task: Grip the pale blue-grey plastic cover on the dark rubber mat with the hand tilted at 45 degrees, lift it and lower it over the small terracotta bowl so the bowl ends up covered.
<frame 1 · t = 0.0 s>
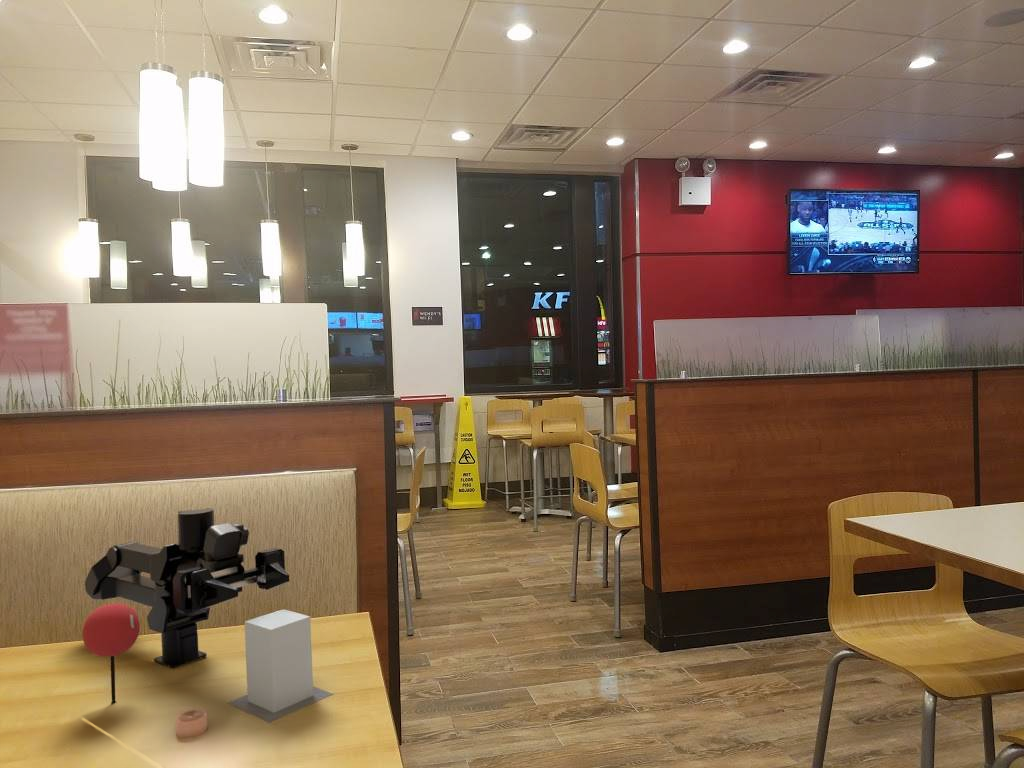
hand: (263, 585, 113), 17 cm above the table, tool horizontal, fingers open, 9 cm apart
lollipop: (114, 703, 111), on the table
cover: (280, 698, 110), resting on mat
bowl: (192, 734, 100), on the table
mat: (280, 701, 110), on the table
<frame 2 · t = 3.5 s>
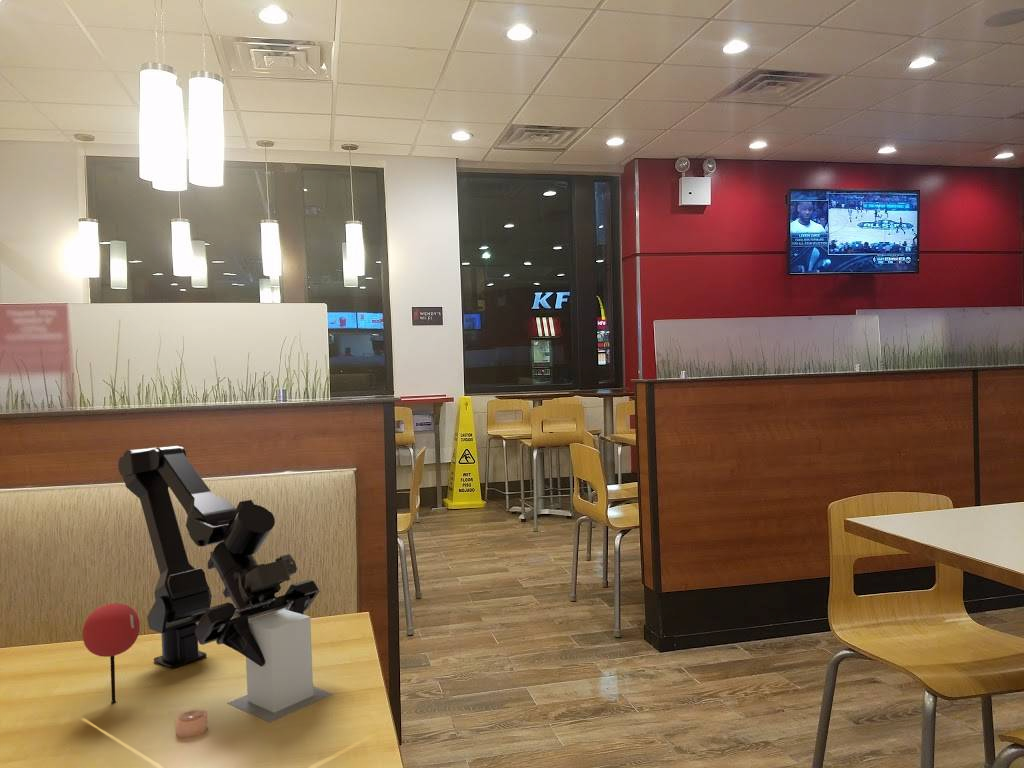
hand: (284, 656, 109), 7 cm above the table, tool tilted 45°, fingers closed on cover, 7 cm apart
cover: (280, 698, 110), resting on mat, touching gripper
everything else where it was.
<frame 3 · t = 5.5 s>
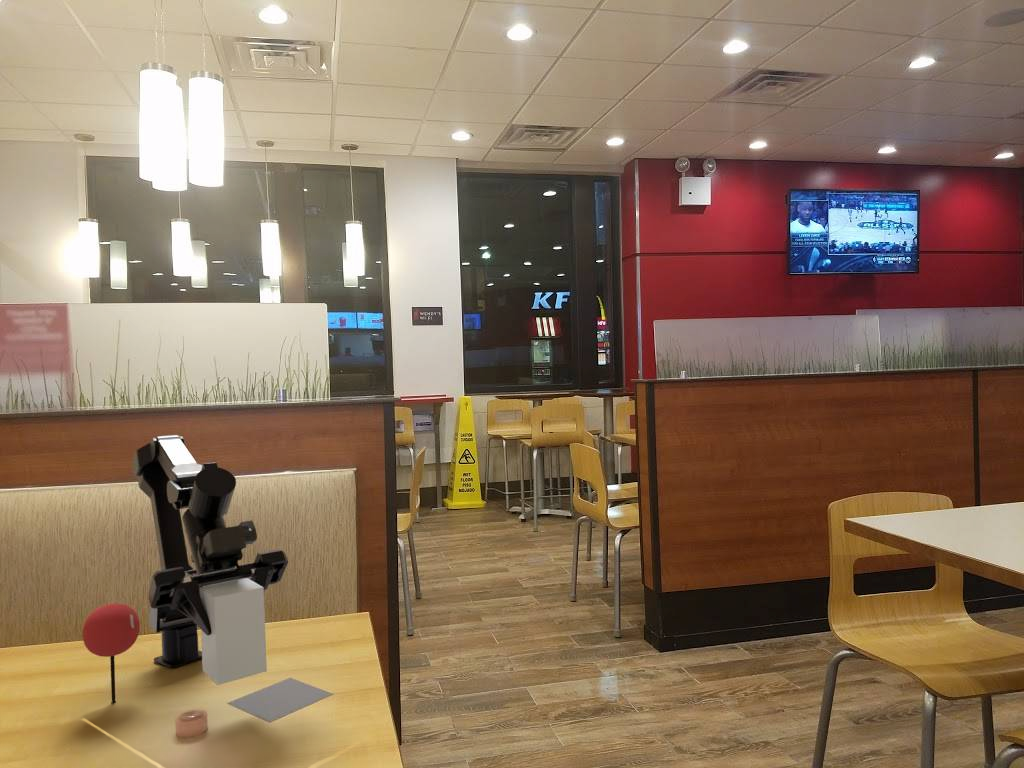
hand: (235, 627, 103), 14 cm above the table, tool tilted 45°, fingers closed on cover, 7 cm apart
cover: (234, 671, 104), point 7 cm above the table, touching gripper
everything else where it was.
when the fingers open (8 cm above the table, at t = 7.8 s): cover drops 1 cm, on the table.
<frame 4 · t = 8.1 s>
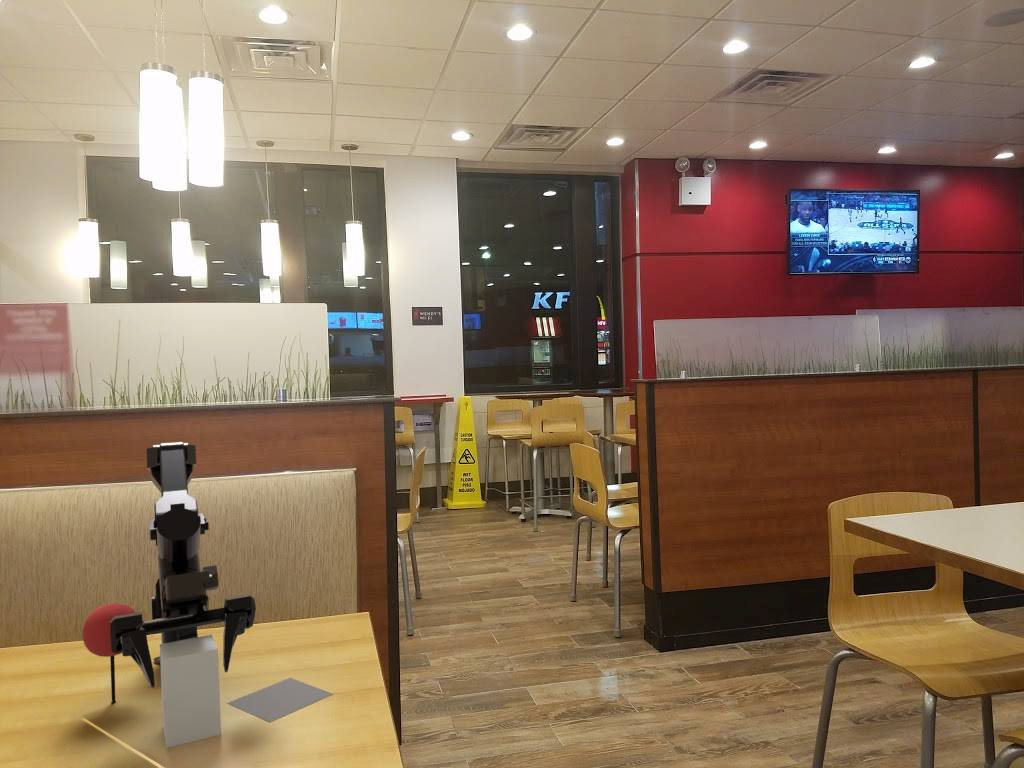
hand: (190, 678, 99), 8 cm above the table, tool tilted 45°, fingers open, 9 cm apart
cover: (191, 733, 100), on the table
everything else where it was.
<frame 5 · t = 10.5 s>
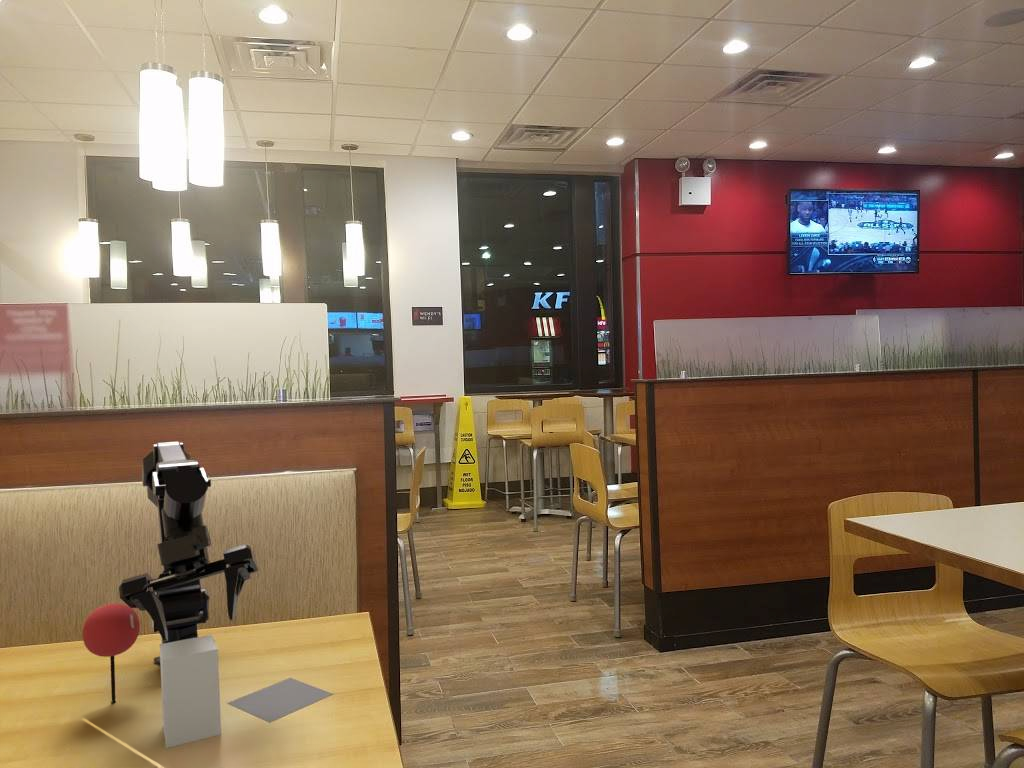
hand: (198, 630, 107), 12 cm above the table, tool tilted 35°, fingers open, 9 cm apart
nothing on the table moved.
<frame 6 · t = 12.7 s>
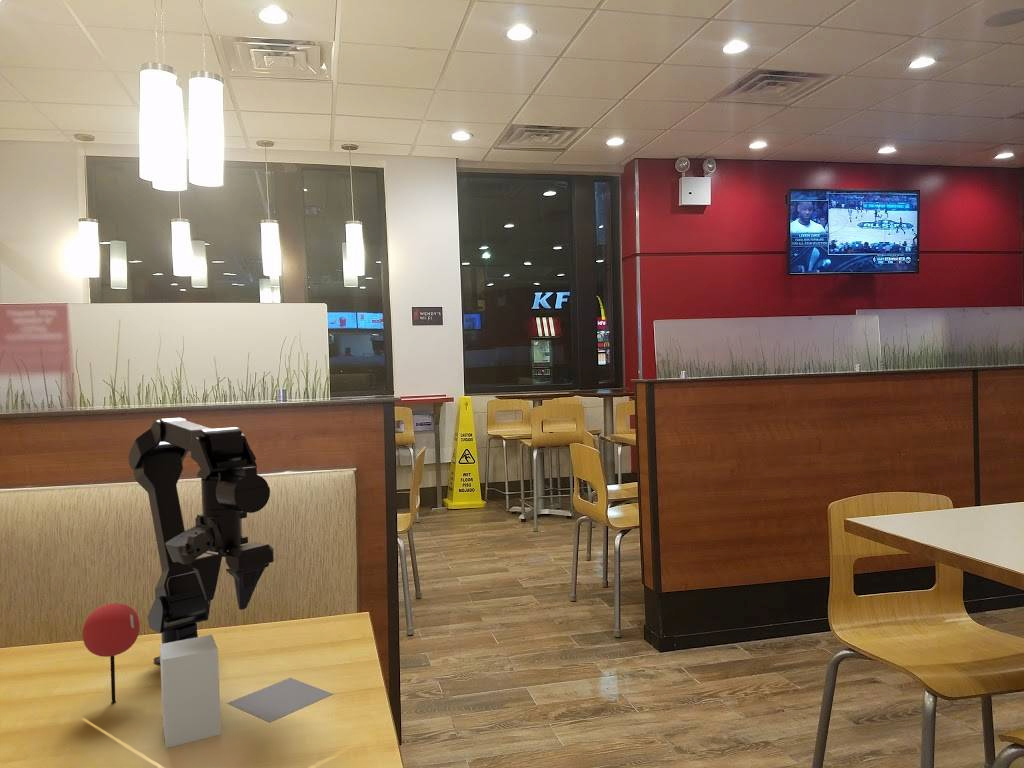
hand: (225, 604, 116), 13 cm above the table, tool pointing down, fingers open, 9 cm apart
nothing on the table moved.
at the end: cover 0.0 cm from the bowl (horizontally); cover on the table; cover tilted 0° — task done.
